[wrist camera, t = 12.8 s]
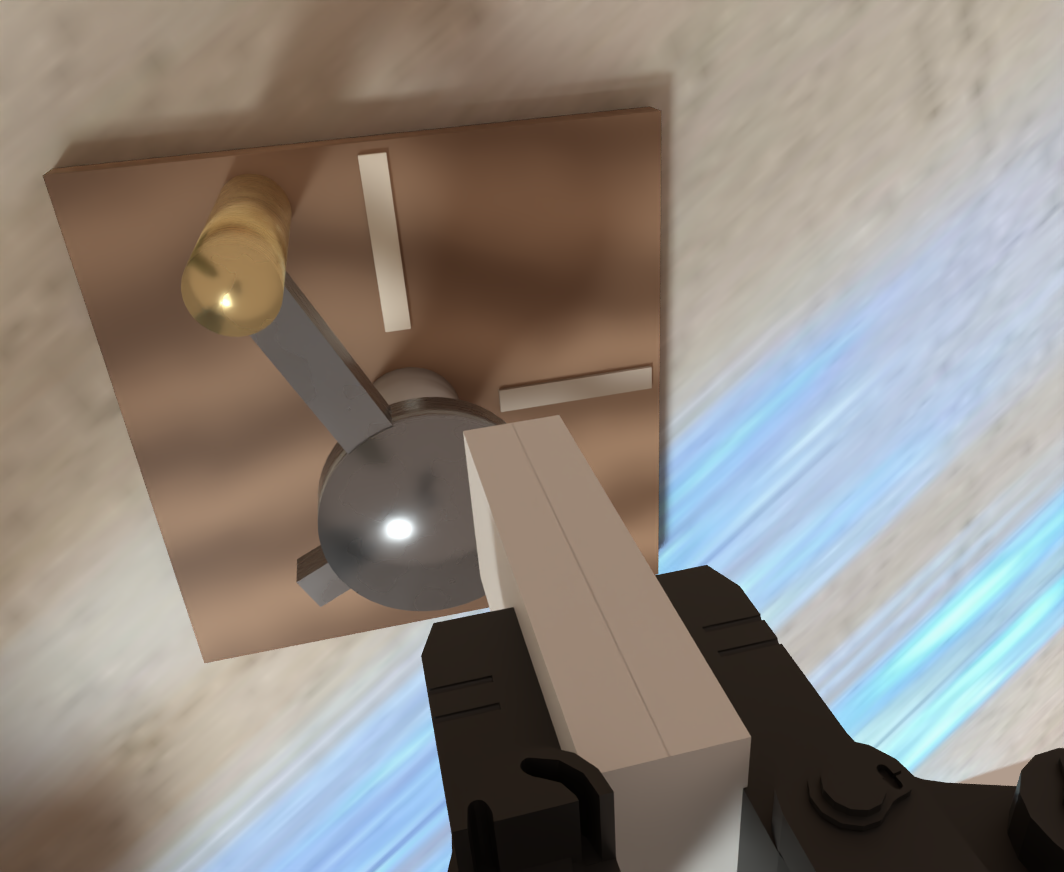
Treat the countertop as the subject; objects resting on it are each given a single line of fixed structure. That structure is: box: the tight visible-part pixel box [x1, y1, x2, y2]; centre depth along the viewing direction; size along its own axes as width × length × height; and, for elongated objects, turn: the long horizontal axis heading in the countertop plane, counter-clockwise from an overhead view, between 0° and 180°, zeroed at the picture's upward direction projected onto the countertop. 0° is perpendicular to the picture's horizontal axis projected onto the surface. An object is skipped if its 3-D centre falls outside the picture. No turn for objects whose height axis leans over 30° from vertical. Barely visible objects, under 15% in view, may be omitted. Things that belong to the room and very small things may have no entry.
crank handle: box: [181, 174, 507, 611], centre depth 35 cm, size 10×18×11 cm, turn 30°
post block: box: [43, 107, 661, 663], centre depth 40 cm, size 26×26×9 cm
